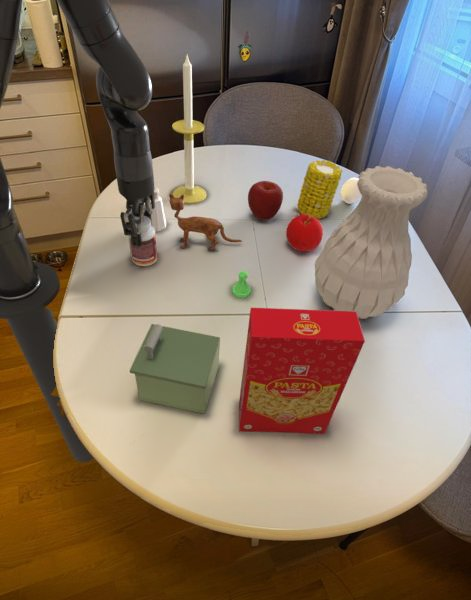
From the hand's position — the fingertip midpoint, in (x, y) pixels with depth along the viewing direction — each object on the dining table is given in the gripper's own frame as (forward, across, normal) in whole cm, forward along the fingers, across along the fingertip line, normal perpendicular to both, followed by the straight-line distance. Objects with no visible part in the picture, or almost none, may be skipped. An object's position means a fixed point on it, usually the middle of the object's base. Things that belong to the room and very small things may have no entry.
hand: (142, 236), depth 97 cm
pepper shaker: (+7, -14, -2) cm, 16 cm away
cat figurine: (+7, -10, +13) cm, 18 cm away
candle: (+7, -32, +2) cm, 33 cm away
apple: (+7, -27, +25) cm, 37 cm away
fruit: (+7, -16, +37) cm, 41 cm away
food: (+7, -34, +39) cm, 52 cm away
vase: (+7, +1, +50) cm, 50 cm away
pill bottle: (+7, 0, 0) cm, 7 cm away
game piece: (+7, +5, +25) cm, 26 cm away
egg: (+7, -42, +49) cm, 65 cm away
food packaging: (+7, +35, +38) cm, 52 cm away
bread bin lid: (-1, +32, +18) cm, 37 cm away
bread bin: (+7, +32, +19) cm, 38 cm away
